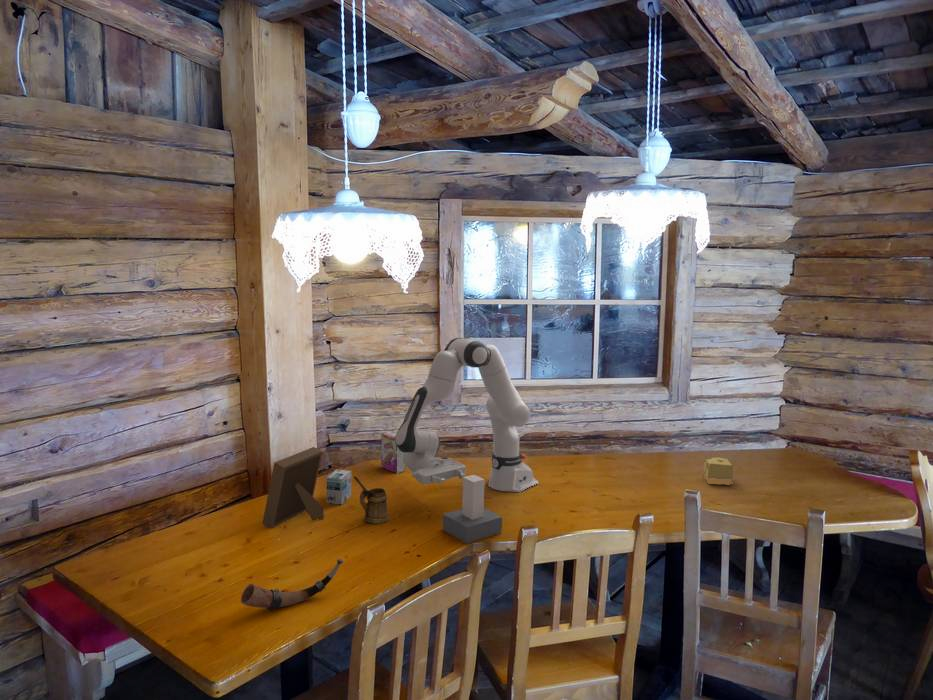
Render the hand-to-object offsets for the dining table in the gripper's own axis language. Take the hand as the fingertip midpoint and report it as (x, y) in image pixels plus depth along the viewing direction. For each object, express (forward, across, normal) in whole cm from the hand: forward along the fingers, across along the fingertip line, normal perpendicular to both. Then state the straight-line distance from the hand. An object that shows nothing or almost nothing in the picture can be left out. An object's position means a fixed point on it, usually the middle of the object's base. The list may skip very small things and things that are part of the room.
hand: (453, 479), depth 259 cm
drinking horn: (+22, -73, +16) cm, 78 cm away
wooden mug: (-17, -25, +16) cm, 34 cm away
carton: (+12, 0, +10) cm, 16 cm away
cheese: (+32, +124, +17) cm, 130 cm away
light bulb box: (-42, -25, +16) cm, 51 cm away
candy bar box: (-61, +12, +16) cm, 64 cm away
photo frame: (-32, -47, +16) cm, 59 cm away
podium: (+12, 0, +16) cm, 20 cm away
